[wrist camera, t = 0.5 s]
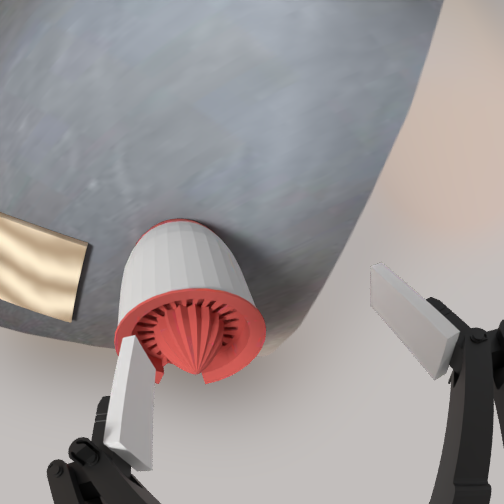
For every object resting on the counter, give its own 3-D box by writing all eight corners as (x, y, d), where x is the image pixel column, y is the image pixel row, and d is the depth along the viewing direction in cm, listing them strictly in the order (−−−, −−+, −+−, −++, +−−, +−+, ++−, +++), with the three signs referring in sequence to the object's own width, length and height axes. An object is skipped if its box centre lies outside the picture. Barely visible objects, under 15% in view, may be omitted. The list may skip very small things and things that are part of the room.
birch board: (-6, 209, 29) (-9, 213, 28) (88, 242, 36) (86, 246, 36) (-7, 291, 35) (-9, 295, 34) (71, 318, 43) (71, 322, 42)
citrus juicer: (120, 298, 43) (118, 413, 27) (129, 195, 35) (110, 309, 19) (214, 305, 49) (245, 411, 34) (244, 212, 41) (301, 318, 25)
